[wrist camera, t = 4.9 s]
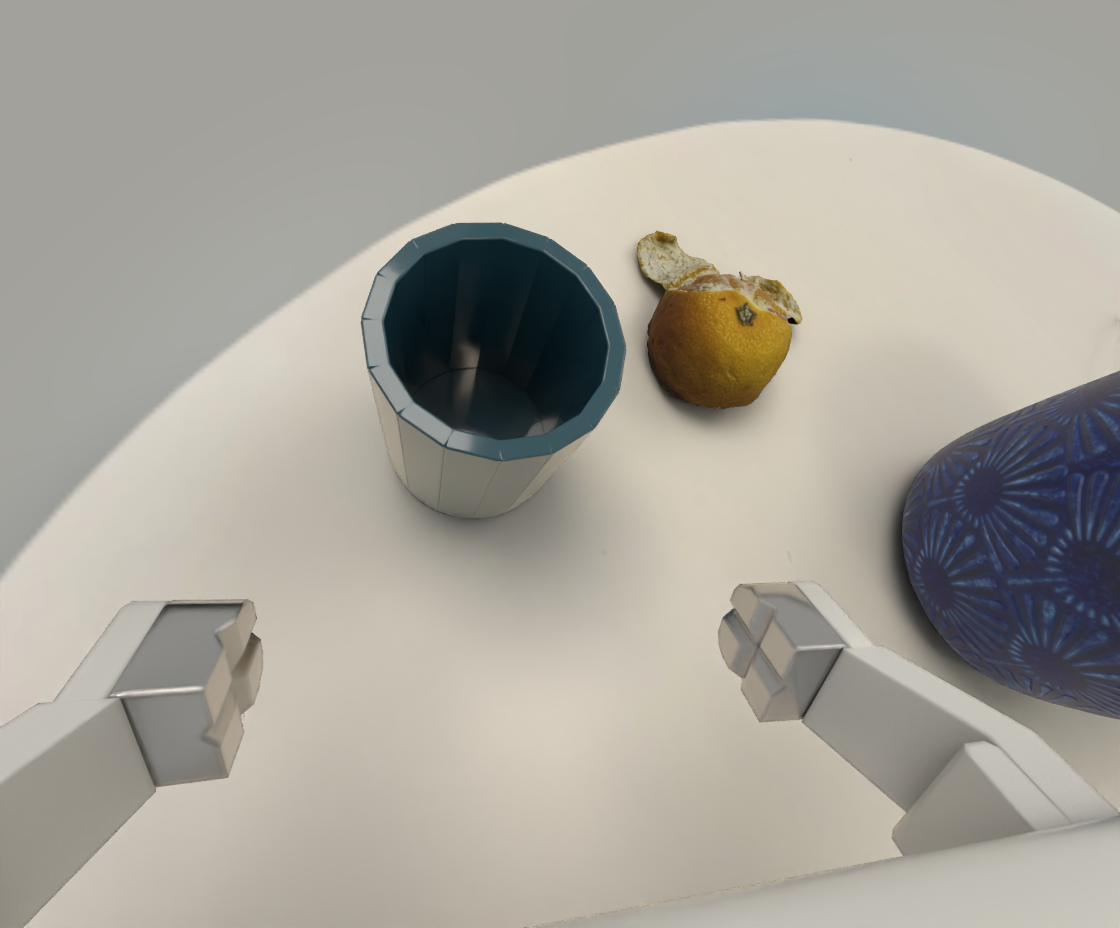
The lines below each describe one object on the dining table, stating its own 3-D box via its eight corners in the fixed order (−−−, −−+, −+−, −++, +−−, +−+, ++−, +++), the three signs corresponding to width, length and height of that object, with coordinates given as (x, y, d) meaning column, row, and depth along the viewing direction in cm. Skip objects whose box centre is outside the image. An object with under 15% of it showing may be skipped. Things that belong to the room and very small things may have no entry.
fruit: (792, 292, 26) (849, 243, 22) (774, 443, 23) (835, 414, 20) (639, 230, 24) (674, 167, 21) (601, 383, 22) (634, 340, 18)
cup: (400, 532, 18) (381, 478, 11) (377, 371, 20) (346, 222, 12) (567, 503, 20) (651, 439, 12) (535, 357, 21) (594, 220, 14)
